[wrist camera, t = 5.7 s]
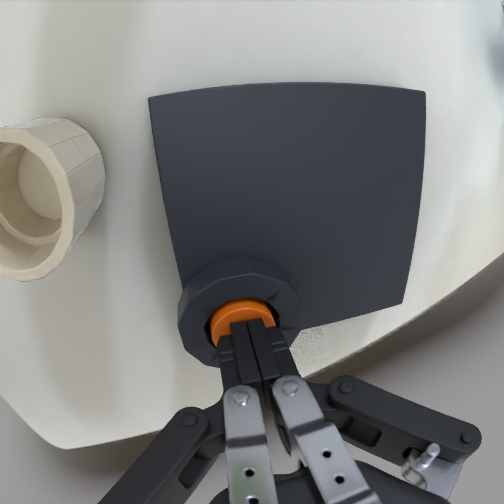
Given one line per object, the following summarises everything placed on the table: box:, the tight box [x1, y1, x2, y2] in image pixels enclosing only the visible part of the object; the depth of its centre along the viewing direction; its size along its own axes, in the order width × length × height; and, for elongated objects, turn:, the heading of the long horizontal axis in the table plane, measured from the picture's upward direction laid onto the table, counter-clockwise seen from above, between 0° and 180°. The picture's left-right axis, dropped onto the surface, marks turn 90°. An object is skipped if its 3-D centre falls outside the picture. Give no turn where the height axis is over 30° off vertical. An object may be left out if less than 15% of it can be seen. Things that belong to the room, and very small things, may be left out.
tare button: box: [209, 297, 275, 347], centre depth 15 cm, size 3×3×2 cm
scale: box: [148, 82, 426, 368], centre depth 14 cm, size 13×14×4 cm
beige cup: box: [0, 117, 106, 282], centre depth 10 cm, size 6×6×5 cm
